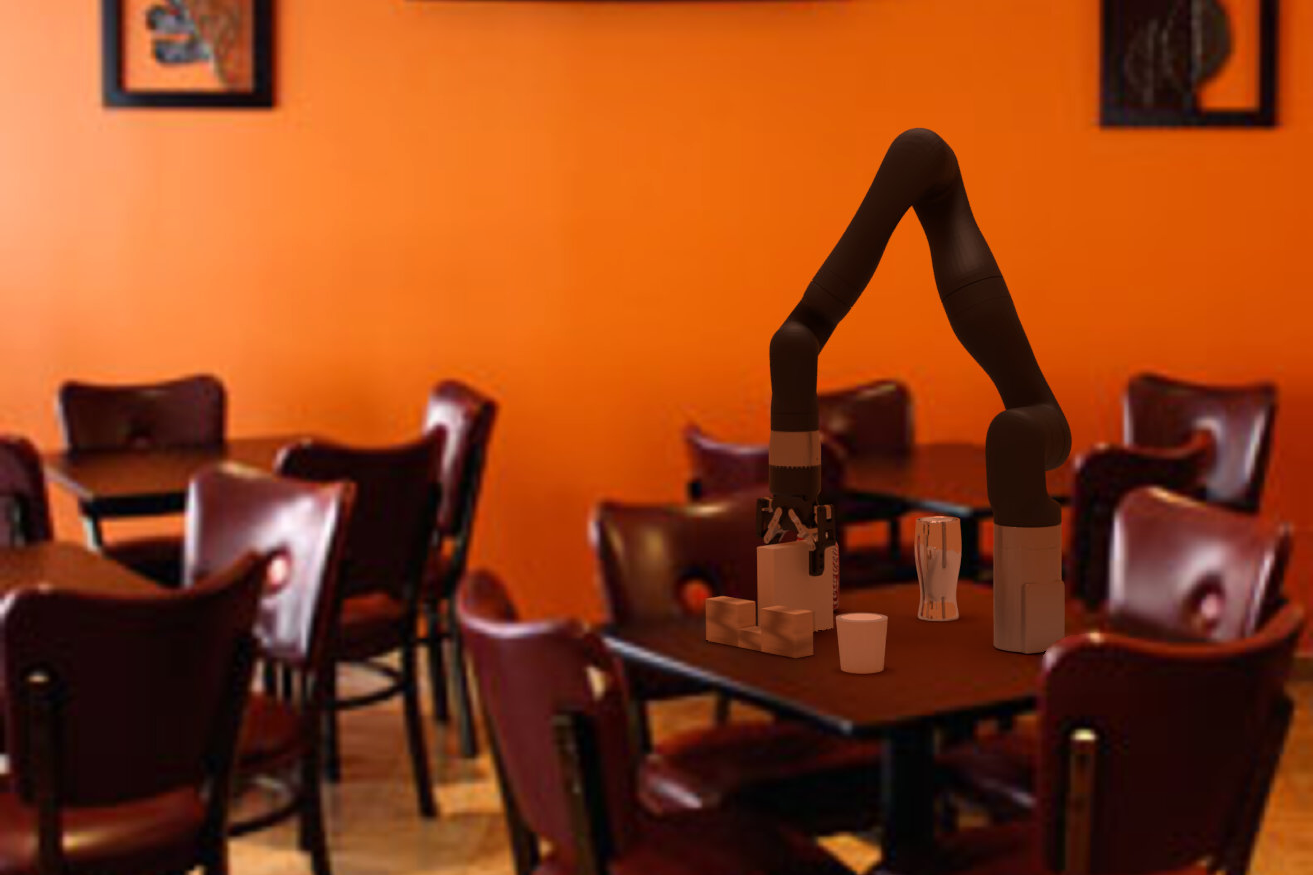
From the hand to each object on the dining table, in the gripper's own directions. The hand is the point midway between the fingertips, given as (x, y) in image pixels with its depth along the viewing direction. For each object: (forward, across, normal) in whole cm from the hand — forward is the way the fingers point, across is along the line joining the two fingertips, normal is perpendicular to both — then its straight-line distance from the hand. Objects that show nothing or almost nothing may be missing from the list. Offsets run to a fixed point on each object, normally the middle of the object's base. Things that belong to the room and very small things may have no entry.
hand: (795, 572), depth 276 cm
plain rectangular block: (+9, 0, 0) cm, 9 cm away
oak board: (+9, -5, +12) cm, 16 cm away
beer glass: (+9, -8, -23) cm, 25 cm away
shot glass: (+9, -25, +12) cm, 29 cm away
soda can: (+9, +9, -14) cm, 19 cm away
